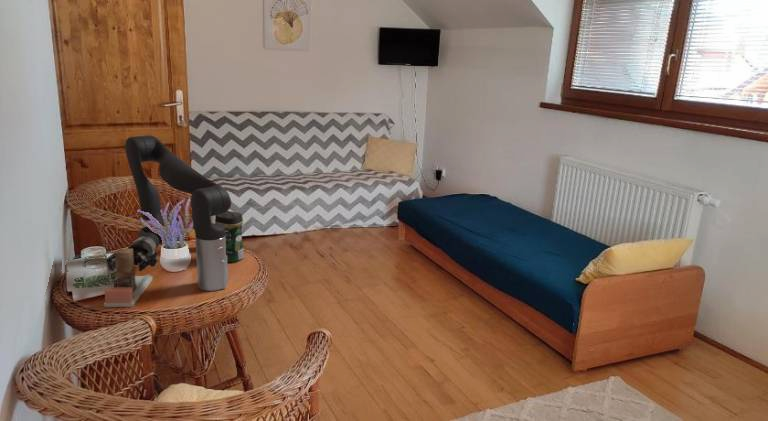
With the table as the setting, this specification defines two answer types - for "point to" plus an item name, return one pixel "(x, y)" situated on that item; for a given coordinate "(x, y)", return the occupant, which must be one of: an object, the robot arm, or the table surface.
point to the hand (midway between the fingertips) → (125, 268)
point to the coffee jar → (232, 234)
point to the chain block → (124, 269)
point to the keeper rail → (137, 280)
